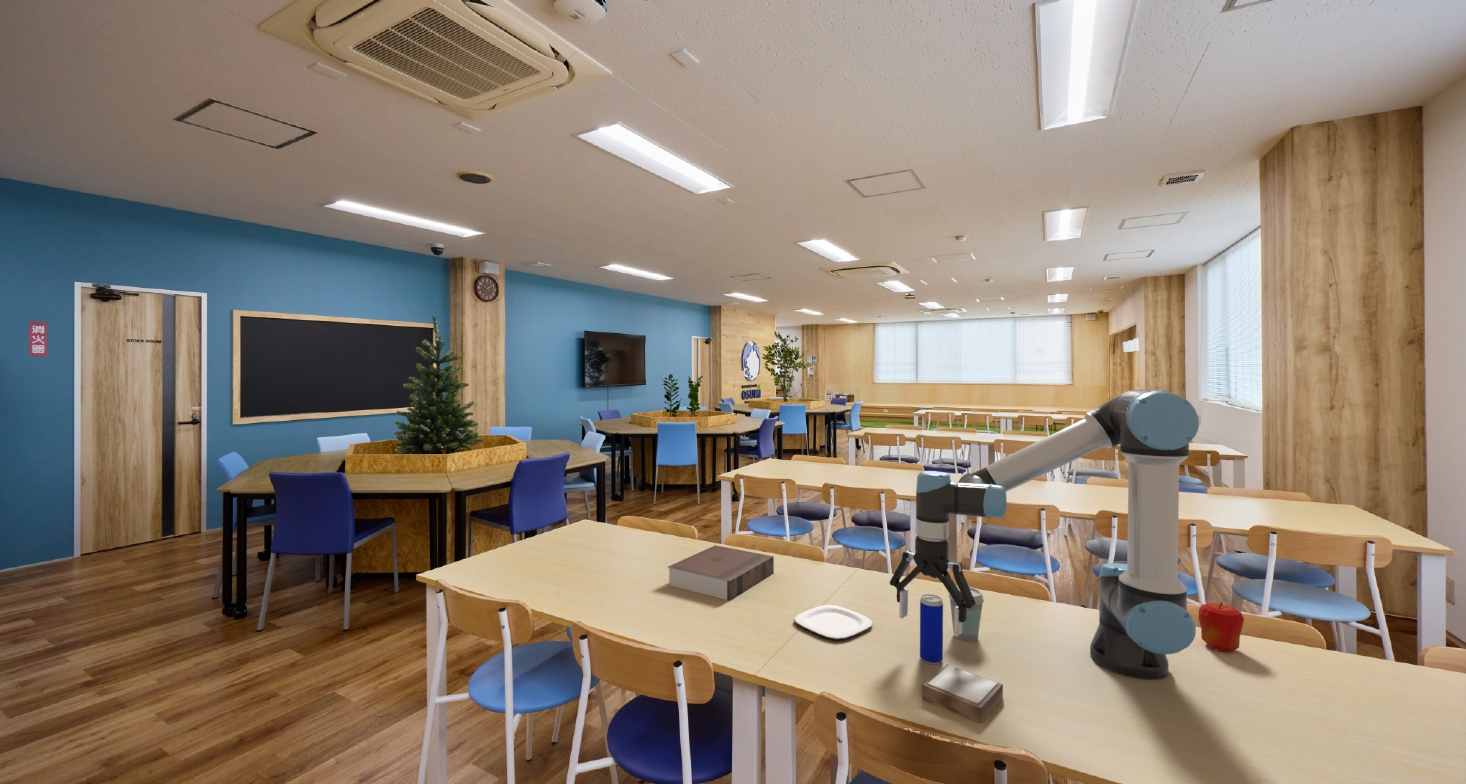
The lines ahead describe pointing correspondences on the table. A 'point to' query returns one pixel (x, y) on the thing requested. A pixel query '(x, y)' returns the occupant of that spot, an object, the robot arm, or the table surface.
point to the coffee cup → (969, 617)
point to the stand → (963, 692)
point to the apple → (1221, 626)
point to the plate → (833, 621)
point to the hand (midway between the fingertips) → (929, 625)
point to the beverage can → (931, 629)
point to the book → (721, 572)
